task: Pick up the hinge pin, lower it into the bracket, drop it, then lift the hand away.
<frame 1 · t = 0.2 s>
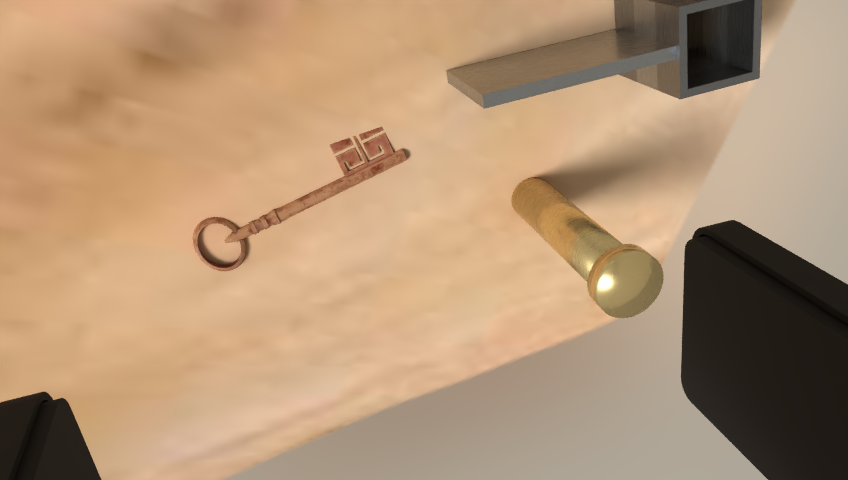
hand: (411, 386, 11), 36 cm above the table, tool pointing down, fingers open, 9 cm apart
bracket: (652, 26, 49), on the table
hinge pin: (531, 197, 52), on the table
key: (294, 188, 48), on the table
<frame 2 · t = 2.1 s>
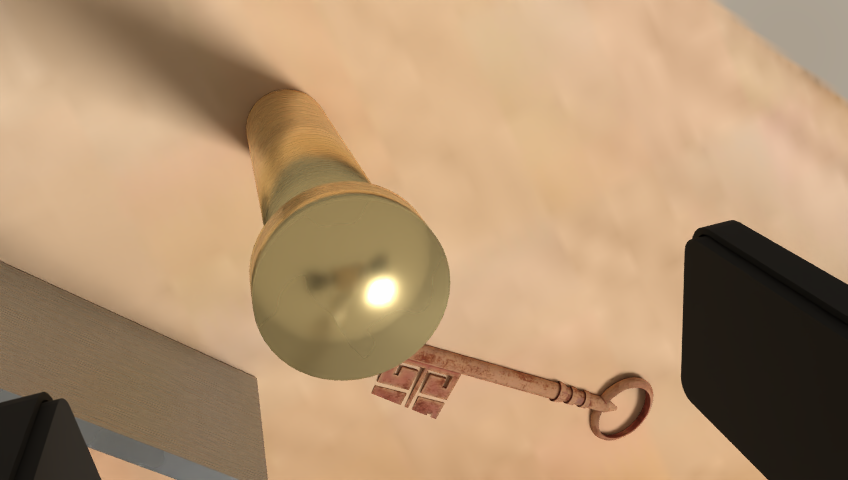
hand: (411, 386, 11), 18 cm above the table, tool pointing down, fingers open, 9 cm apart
hinge pin: (287, 129, 27), on the table
key: (510, 391, 35), on the table
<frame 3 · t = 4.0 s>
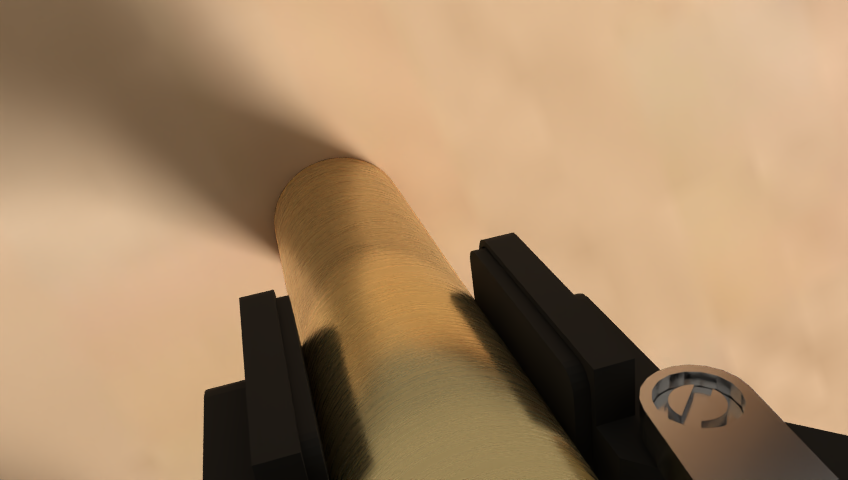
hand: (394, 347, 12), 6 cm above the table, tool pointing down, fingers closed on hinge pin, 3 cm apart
hinge pin: (340, 220, 17), on the table, touching gripper
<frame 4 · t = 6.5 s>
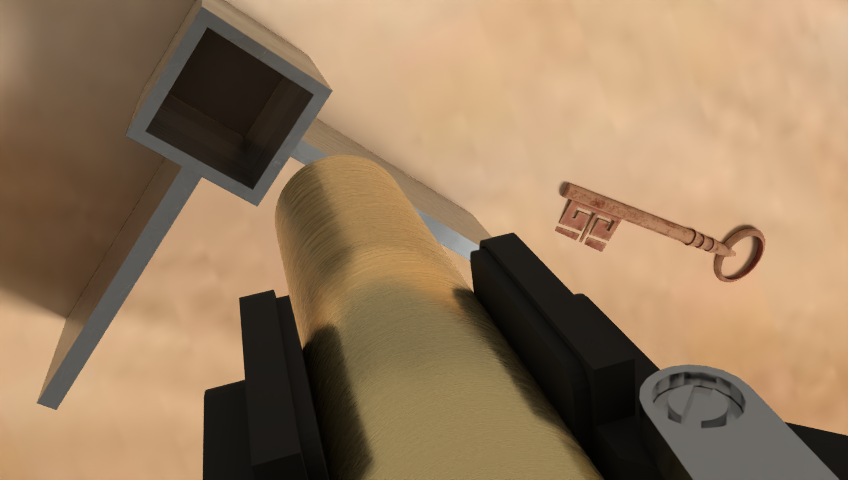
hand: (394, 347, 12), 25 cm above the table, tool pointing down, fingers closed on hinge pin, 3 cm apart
bracket: (227, 73, 33), on the table
hinge pin: (341, 217, 17), point 19 cm above the table, touching gripper
key: (654, 238, 44), on the table
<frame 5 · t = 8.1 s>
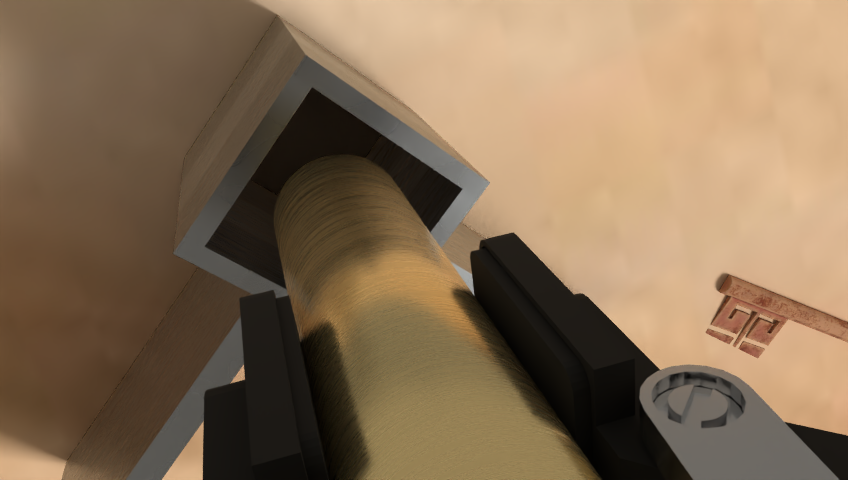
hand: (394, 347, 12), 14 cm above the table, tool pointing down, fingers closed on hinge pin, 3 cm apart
bracket: (302, 134, 24), on the table
hinge pin: (339, 217, 17), point 8 cm above the table, touching gripper
key: (818, 338, 35), on the table
when the fingers open (9 cm above the table, at t = 9.3 s): hinge pin drops 3 cm, resting in bracket.
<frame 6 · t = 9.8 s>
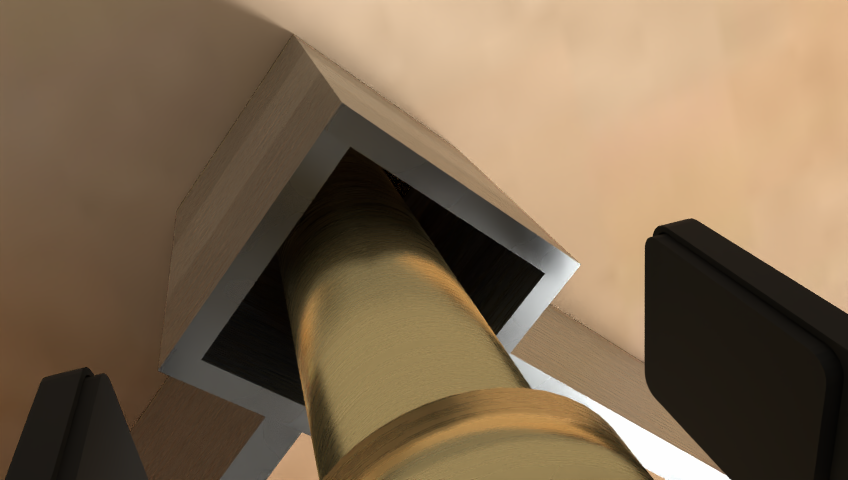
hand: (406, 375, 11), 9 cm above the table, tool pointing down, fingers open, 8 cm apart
bracket: (322, 179, 19), on the table
hinge pin: (321, 180, 19), resting in bracket
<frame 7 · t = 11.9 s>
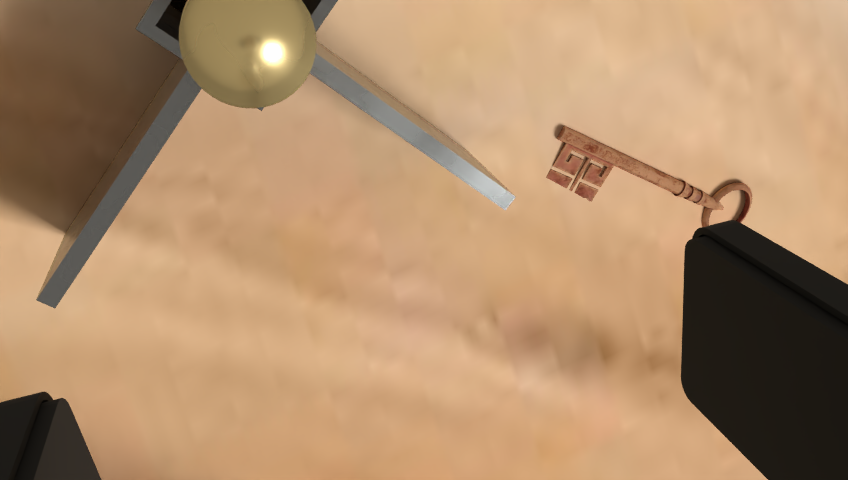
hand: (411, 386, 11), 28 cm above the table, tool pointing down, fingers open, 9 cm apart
key: (644, 187, 45), on the table
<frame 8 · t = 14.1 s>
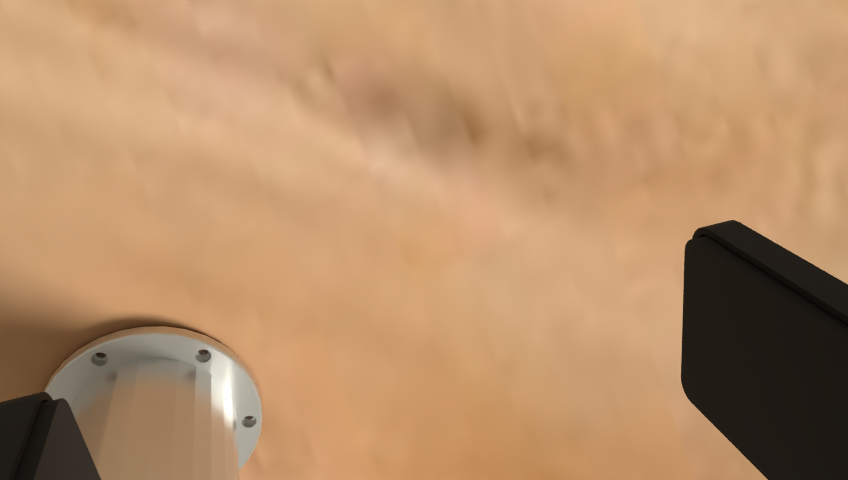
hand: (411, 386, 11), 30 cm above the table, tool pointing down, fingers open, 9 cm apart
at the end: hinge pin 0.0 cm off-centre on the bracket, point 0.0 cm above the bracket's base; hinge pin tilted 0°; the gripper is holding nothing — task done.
